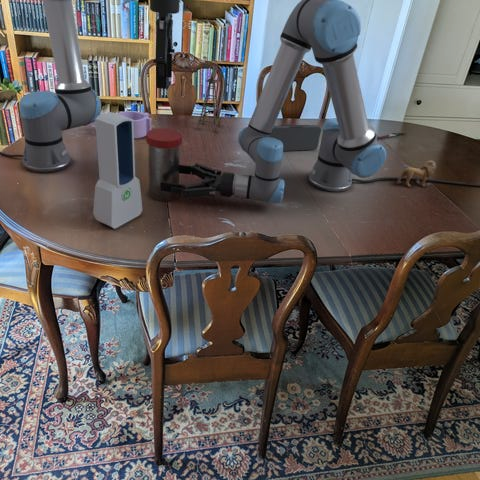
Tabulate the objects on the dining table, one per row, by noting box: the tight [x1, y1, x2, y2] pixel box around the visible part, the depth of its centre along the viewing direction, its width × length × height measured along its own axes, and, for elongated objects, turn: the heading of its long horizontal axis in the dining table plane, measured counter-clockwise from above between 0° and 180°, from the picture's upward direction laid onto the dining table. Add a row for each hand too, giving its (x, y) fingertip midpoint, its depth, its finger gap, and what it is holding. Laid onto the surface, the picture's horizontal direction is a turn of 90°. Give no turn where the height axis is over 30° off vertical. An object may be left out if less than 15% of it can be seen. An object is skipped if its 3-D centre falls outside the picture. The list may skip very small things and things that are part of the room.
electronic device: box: [92, 111, 143, 230], centre depth 126 cm, size 12×8×30 cm, turn 148°
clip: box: [100, 110, 153, 139], centre depth 188 cm, size 20×12×7 cm, turn 109°
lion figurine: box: [396, 159, 436, 188], centre depth 171 cm, size 15×5×9 cm, turn 110°
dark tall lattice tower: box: [196, 56, 221, 133], centre depth 196 cm, size 9×8×30 cm
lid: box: [145, 127, 183, 149], centre depth 139 cm, size 10×10×2 cm
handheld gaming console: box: [269, 124, 322, 152], centre depth 189 cm, size 23×3×10 cm, turn 108°
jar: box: [148, 144, 181, 202], centre depth 144 cm, size 9×9×20 cm
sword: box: [376, 132, 408, 140], centre depth 213 cm, size 31×3×1 cm, turn 126°
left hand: (164, 82), depth 130 cm, fingers open, 11 cm apart
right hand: (166, 176), depth 145 cm, fingers open, 13 cm apart
